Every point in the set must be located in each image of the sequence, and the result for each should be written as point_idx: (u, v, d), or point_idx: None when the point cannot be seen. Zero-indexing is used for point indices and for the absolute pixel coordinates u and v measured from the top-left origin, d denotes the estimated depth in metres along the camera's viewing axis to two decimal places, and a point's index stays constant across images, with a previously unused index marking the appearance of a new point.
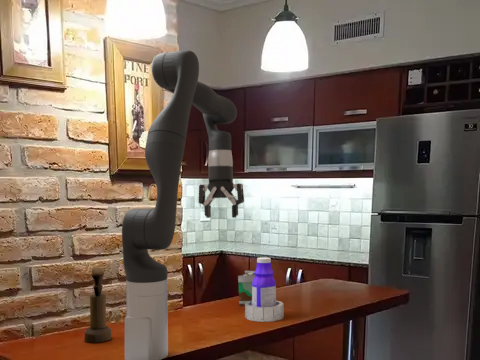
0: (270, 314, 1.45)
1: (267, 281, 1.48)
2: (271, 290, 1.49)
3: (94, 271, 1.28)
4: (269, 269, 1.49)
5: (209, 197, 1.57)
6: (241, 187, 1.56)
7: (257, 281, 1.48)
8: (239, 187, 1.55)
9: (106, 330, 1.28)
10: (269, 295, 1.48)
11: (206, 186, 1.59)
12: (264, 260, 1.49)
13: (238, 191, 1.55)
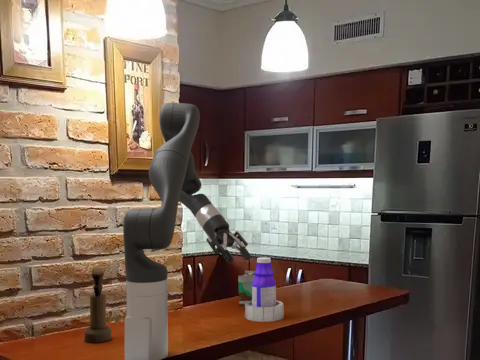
0: (270, 314, 1.45)
1: (267, 281, 1.48)
2: (271, 290, 1.49)
3: (94, 271, 1.28)
4: (269, 269, 1.49)
5: (225, 241, 1.56)
6: None
7: (257, 281, 1.48)
8: (239, 234, 1.65)
9: (106, 330, 1.28)
10: (269, 295, 1.48)
11: (214, 236, 1.57)
12: (264, 260, 1.49)
13: (240, 236, 1.64)
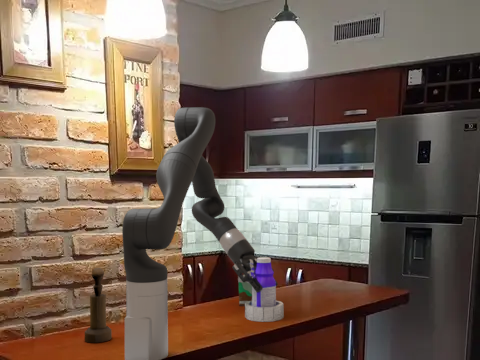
0: (270, 314, 1.45)
1: (267, 281, 1.48)
2: (271, 290, 1.49)
3: (94, 271, 1.28)
4: (269, 269, 1.49)
5: (252, 269, 1.50)
6: None
7: None
8: None
9: (106, 330, 1.28)
10: (269, 295, 1.48)
11: (240, 263, 1.50)
12: (264, 260, 1.49)
13: None
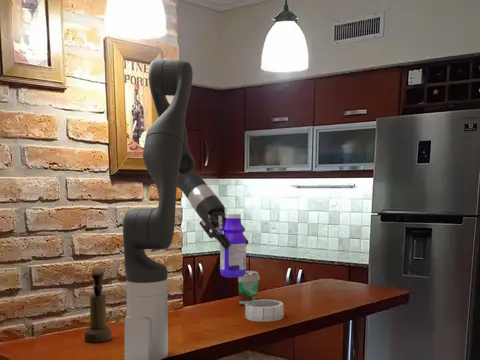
0: (270, 314, 1.45)
1: (236, 238, 1.39)
2: (240, 247, 1.40)
3: (94, 271, 1.28)
4: (238, 225, 1.40)
5: (221, 225, 1.40)
6: None
7: None
8: None
9: (106, 330, 1.28)
10: (238, 253, 1.39)
11: (208, 219, 1.41)
12: (233, 215, 1.40)
13: None
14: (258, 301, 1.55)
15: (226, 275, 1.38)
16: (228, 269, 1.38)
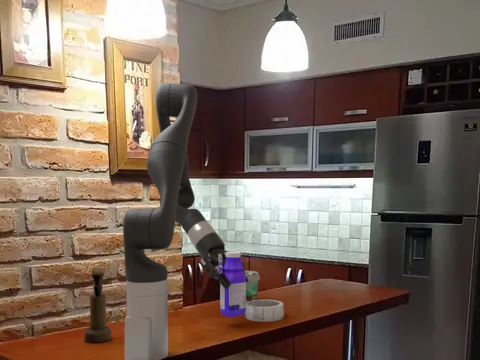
0: (270, 314, 1.45)
1: (236, 277, 1.39)
2: (240, 286, 1.39)
3: (94, 271, 1.28)
4: (238, 264, 1.40)
5: (221, 264, 1.40)
6: None
7: None
8: None
9: (106, 330, 1.28)
10: (238, 292, 1.39)
11: (208, 258, 1.41)
12: (233, 254, 1.39)
13: None
14: (258, 301, 1.55)
15: (226, 314, 1.38)
16: (228, 309, 1.38)
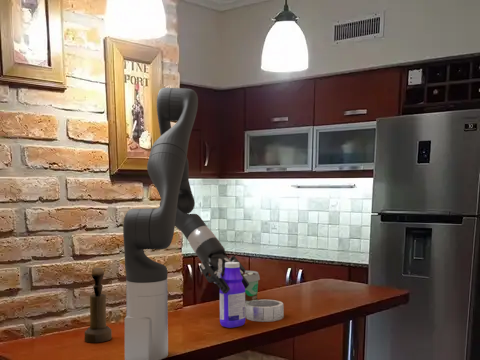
0: (270, 314, 1.45)
1: (235, 288, 1.38)
2: (240, 297, 1.39)
3: (94, 271, 1.28)
4: (237, 274, 1.40)
5: (220, 269, 1.40)
6: None
7: None
8: (235, 258, 1.49)
9: (106, 330, 1.28)
10: (237, 303, 1.39)
11: (208, 263, 1.41)
12: (232, 265, 1.39)
13: (237, 261, 1.48)
14: (258, 301, 1.55)
15: (226, 325, 1.38)
16: (227, 319, 1.38)
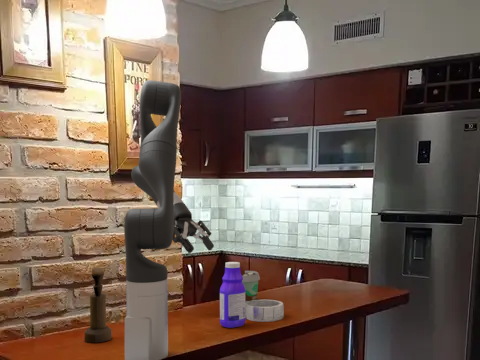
0: (270, 314, 1.45)
1: (235, 288, 1.38)
2: (240, 297, 1.39)
3: (94, 271, 1.28)
4: (238, 274, 1.40)
5: (186, 230, 1.48)
6: None
7: (224, 287, 1.39)
8: (202, 223, 1.57)
9: (106, 330, 1.28)
10: (237, 303, 1.39)
11: (174, 225, 1.49)
12: (233, 265, 1.39)
13: (204, 225, 1.56)
14: (258, 301, 1.55)
15: (226, 325, 1.38)
16: (228, 319, 1.38)
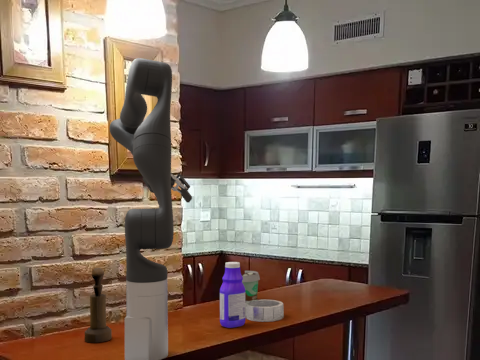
0: (270, 314, 1.45)
1: (235, 288, 1.38)
2: (240, 297, 1.39)
3: (94, 271, 1.28)
4: (238, 274, 1.40)
5: None
6: None
7: (224, 287, 1.39)
8: (181, 176, 1.55)
9: (106, 330, 1.28)
10: (237, 303, 1.39)
11: None
12: (233, 265, 1.39)
13: (182, 179, 1.54)
14: (258, 301, 1.55)
15: (226, 325, 1.38)
16: (228, 319, 1.38)
